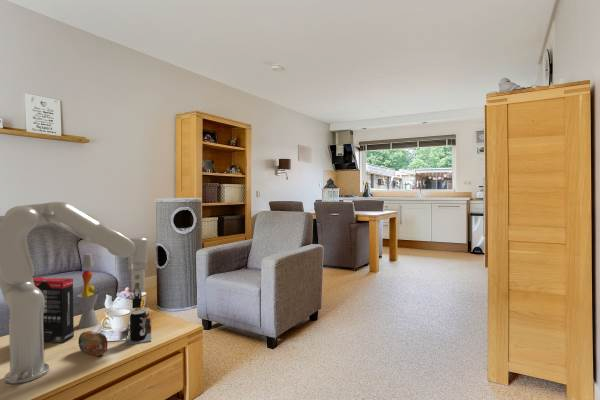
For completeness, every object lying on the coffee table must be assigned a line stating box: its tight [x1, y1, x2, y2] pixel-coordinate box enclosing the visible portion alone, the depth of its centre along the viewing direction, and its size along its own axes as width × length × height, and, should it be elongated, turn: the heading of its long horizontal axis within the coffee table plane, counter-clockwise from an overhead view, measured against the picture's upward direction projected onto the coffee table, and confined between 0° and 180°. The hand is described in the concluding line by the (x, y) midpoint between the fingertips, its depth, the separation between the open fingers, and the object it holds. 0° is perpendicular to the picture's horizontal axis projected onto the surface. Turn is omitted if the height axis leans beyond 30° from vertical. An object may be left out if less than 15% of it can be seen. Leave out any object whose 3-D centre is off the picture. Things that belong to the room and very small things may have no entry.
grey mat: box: [125, 332, 152, 346], centre depth 153 cm, size 9×10×1 cm
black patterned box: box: [126, 317, 152, 334], centre depth 162 cm, size 10×10×4 cm
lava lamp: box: [76, 253, 100, 329], centre depth 170 cm, size 9×9×35 cm
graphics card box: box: [32, 276, 75, 344], centre depth 152 cm, size 17×7×27 cm, turn 84°
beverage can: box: [129, 308, 147, 341], centre depth 152 cm, size 7×7×12 cm
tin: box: [77, 330, 108, 357], centre depth 140 cm, size 15×3×8 cm, turn 65°
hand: (137, 304), depth 152 cm, fingers open, 9 cm apart
